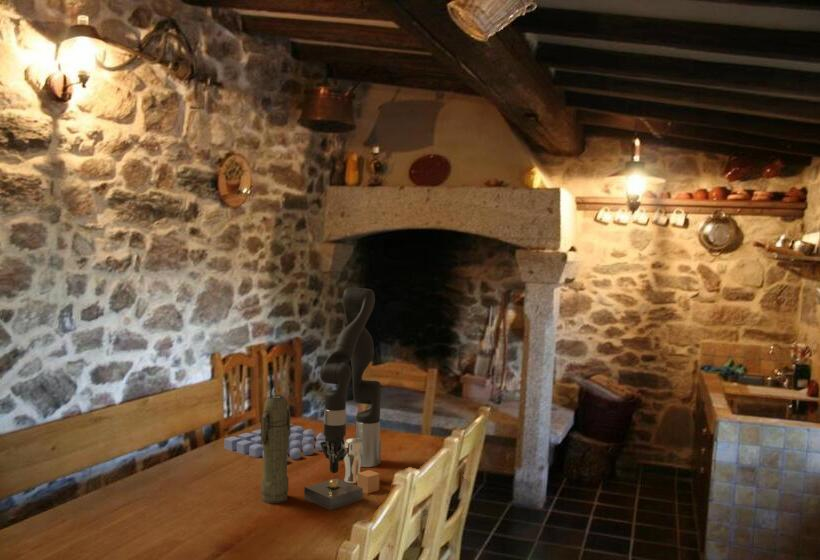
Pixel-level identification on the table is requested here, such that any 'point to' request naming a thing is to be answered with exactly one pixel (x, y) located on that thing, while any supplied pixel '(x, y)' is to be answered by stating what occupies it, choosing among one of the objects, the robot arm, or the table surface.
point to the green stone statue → (275, 449)
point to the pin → (333, 484)
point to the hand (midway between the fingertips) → (333, 472)
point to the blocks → (296, 441)
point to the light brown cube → (368, 481)
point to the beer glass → (352, 459)
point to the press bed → (333, 494)
